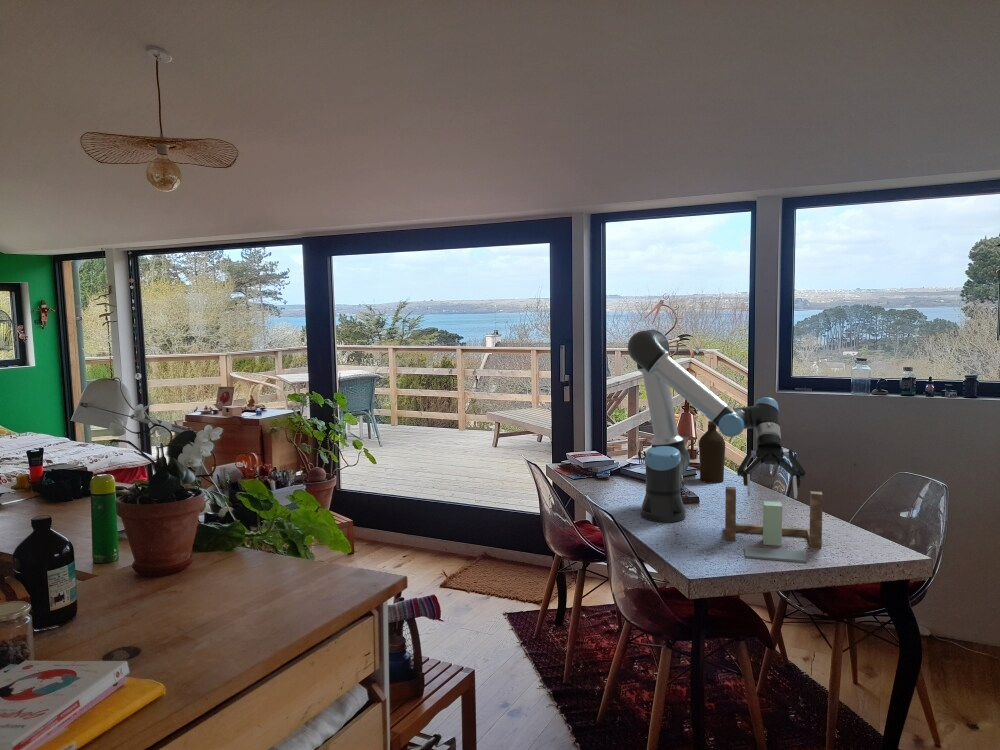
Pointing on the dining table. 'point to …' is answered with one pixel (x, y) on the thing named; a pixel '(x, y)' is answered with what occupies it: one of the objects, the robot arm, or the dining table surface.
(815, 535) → the frame
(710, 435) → the olive oil
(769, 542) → the tall green square pillar
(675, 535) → the dining table surface
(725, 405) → the robot arm
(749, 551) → the mat
